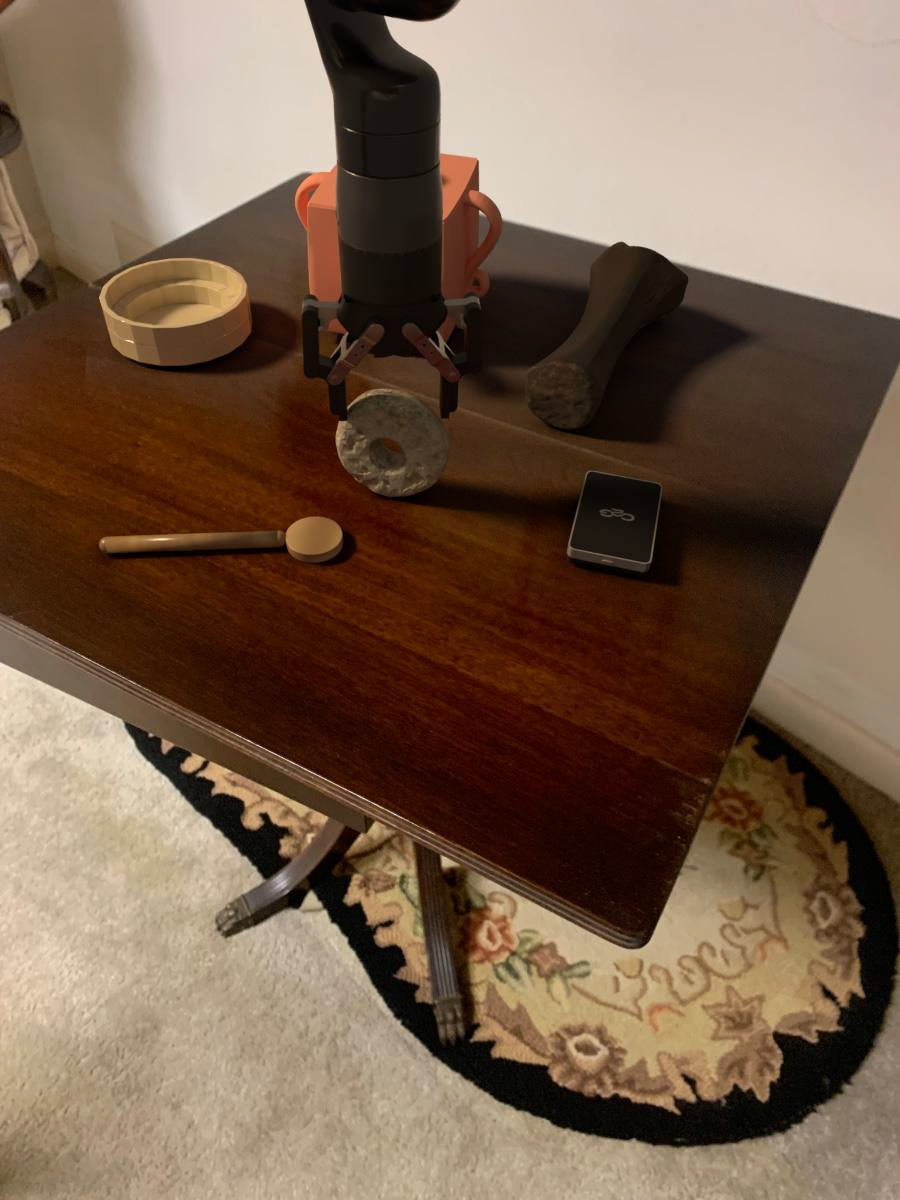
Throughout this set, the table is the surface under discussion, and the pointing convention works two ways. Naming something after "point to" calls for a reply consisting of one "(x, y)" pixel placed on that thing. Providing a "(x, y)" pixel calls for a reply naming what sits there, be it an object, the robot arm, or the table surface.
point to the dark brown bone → (603, 332)
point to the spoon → (242, 541)
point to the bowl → (177, 311)
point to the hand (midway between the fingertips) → (394, 414)
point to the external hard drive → (615, 523)
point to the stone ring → (405, 426)
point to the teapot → (456, 234)
